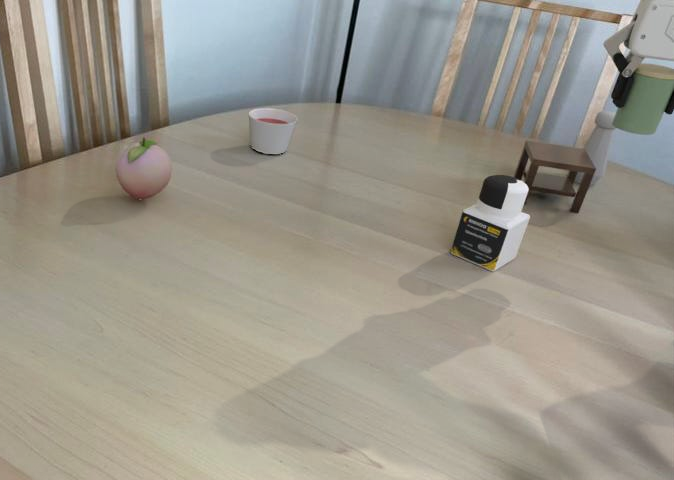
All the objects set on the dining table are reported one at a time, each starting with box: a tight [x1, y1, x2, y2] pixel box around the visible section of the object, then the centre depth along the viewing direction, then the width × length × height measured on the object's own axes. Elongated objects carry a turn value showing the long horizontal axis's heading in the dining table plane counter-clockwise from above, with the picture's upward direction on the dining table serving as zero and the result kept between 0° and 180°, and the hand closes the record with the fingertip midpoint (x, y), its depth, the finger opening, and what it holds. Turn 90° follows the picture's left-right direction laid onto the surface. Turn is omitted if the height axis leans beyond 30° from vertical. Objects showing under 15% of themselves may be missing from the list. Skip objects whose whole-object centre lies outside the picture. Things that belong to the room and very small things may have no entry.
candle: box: [248, 107, 298, 154], centre depth 139 cm, size 9×9×6 cm
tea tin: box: [612, 62, 674, 136], centre depth 101 cm, size 6×6×8 cm
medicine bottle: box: [450, 174, 531, 273], centre depth 107 cm, size 7×7×12 cm
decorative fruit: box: [115, 137, 173, 200], centre depth 114 cm, size 9×8×10 cm
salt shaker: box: [574, 110, 617, 186], centre depth 137 cm, size 6×6×13 cm
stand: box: [513, 139, 596, 214], centre depth 130 cm, size 10×10×8 cm
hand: (641, 106), depth 102 cm, fingers closed on tea tin, 5 cm apart
